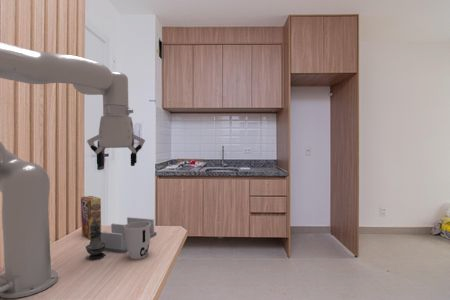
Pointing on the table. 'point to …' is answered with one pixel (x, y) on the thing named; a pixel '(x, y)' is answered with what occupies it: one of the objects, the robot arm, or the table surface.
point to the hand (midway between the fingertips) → (117, 166)
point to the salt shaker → (95, 242)
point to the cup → (137, 238)
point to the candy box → (90, 213)
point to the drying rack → (121, 235)
